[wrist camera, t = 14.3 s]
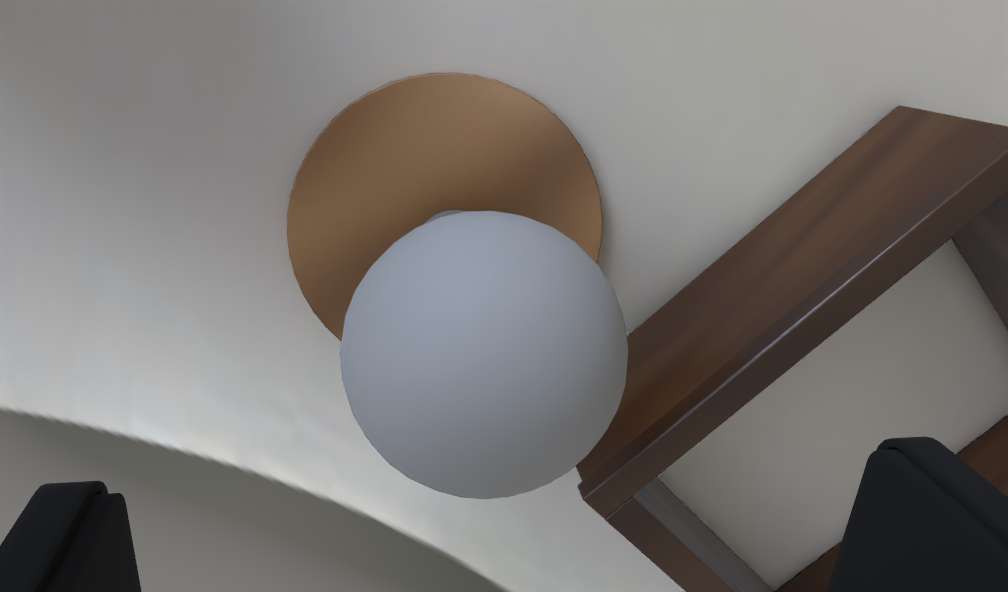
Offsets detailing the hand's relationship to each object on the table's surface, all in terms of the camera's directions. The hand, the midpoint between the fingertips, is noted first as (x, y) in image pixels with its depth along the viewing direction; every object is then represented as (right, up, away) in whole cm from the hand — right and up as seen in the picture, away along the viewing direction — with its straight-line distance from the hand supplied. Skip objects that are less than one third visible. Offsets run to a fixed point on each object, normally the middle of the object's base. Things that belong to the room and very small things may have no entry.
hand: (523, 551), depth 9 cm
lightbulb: (-2, +5, +14) cm, 15 cm away
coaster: (-2, +5, +14) cm, 15 cm away
